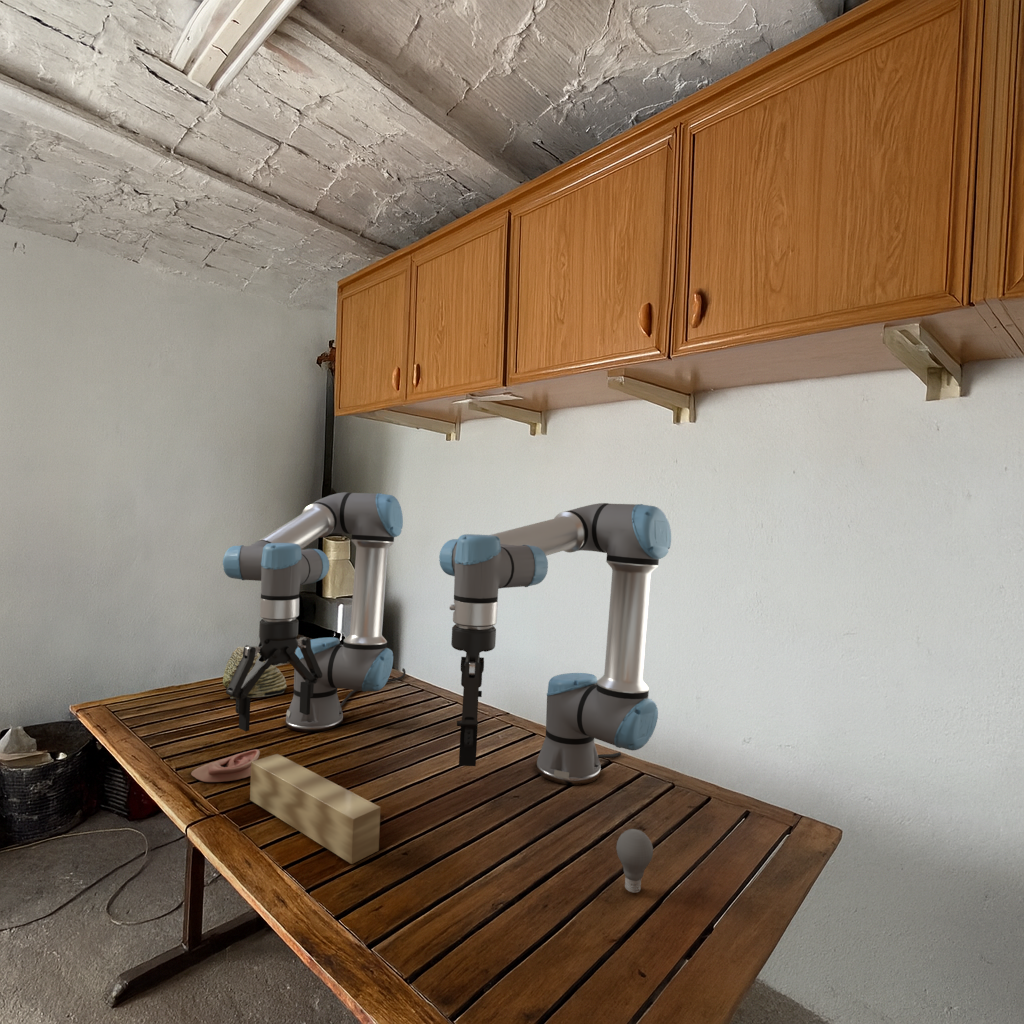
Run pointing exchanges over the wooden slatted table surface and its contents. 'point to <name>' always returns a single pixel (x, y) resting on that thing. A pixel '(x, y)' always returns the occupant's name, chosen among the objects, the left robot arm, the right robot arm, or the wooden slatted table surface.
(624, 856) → the light bulb
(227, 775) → the anatomical model
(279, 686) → the fossil
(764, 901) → the wooden slatted table surface
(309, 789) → the birch beam
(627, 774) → the wooden slatted table surface
